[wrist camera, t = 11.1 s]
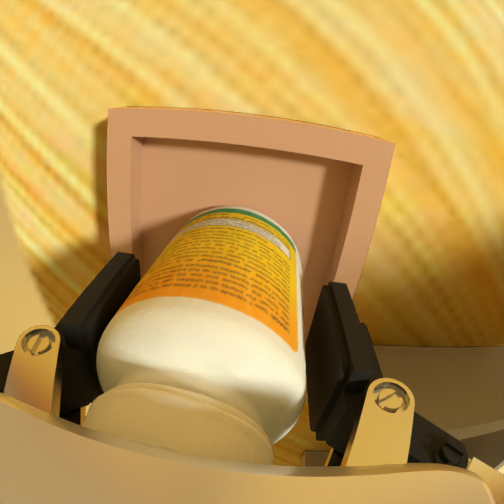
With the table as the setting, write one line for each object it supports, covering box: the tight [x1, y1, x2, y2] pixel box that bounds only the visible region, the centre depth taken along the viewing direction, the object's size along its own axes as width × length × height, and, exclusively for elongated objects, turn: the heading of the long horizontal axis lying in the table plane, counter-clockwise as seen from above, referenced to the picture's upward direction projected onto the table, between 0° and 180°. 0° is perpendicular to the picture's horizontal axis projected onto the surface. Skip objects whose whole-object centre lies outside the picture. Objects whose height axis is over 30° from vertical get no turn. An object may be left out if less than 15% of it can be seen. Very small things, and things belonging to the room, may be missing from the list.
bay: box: [301, 345, 504, 470], centre depth 16 cm, size 13×16×6 cm
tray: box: [107, 106, 395, 387], centre depth 13 cm, size 12×10×2 cm
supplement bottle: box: [82, 206, 306, 465], centre depth 9 cm, size 5×5×10 cm
